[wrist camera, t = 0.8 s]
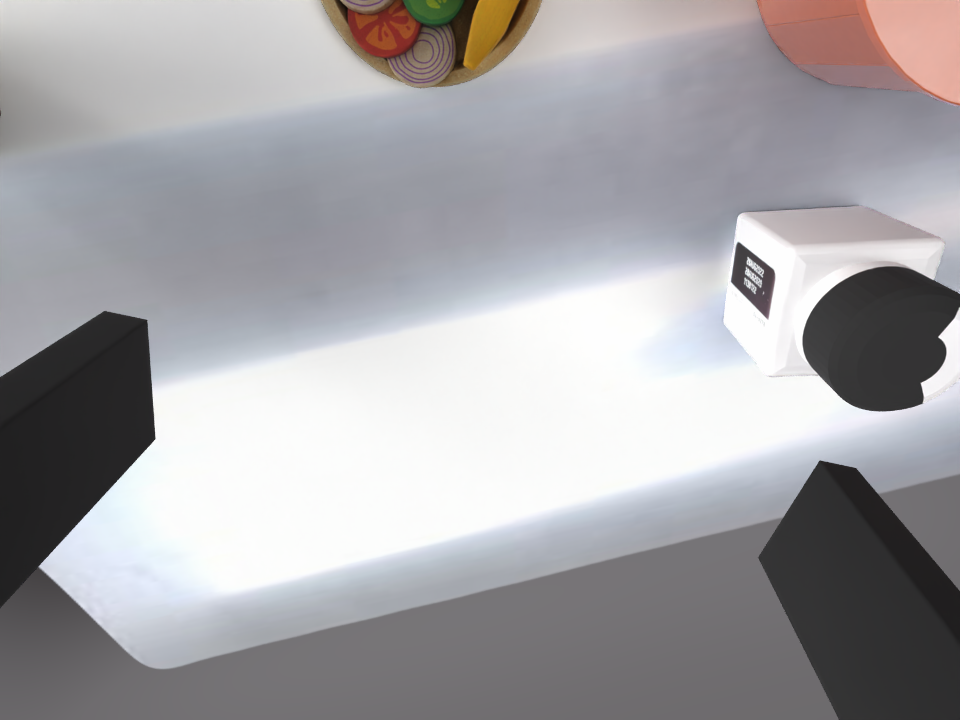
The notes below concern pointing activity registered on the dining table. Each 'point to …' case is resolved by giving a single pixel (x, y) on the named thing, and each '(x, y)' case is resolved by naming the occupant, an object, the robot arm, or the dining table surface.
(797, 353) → the container
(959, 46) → the lid
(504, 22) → the toy sandwich meal
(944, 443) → the dining table surface
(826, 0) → the pot
